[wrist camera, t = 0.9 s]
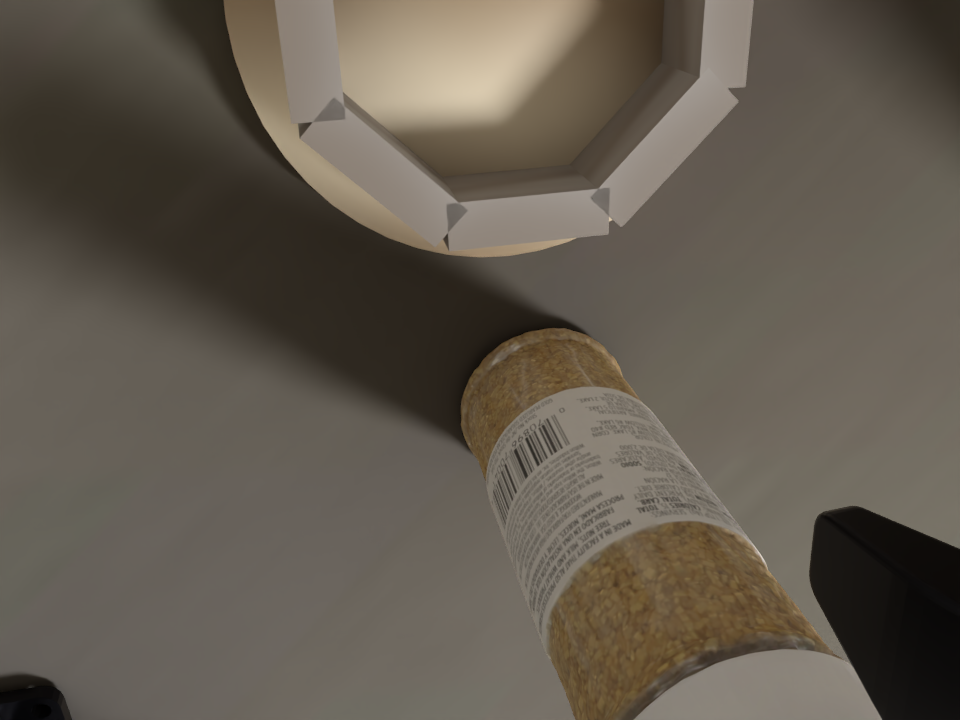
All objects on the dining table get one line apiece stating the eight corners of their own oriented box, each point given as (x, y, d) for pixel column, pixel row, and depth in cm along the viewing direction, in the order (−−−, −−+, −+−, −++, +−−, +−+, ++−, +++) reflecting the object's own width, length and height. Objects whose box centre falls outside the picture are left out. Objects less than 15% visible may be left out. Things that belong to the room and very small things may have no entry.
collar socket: (712, 218, 22) (770, 259, 20) (267, 266, 21) (266, 318, 18) (758, -323, 17) (843, -365, 15) (175, -323, 16) (154, -371, 13)
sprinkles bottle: (526, 498, 25) (748, 1017, 13) (420, 399, 23) (573, 911, 11) (653, 396, 24) (1006, 847, 13) (557, 284, 22) (874, 700, 10)
